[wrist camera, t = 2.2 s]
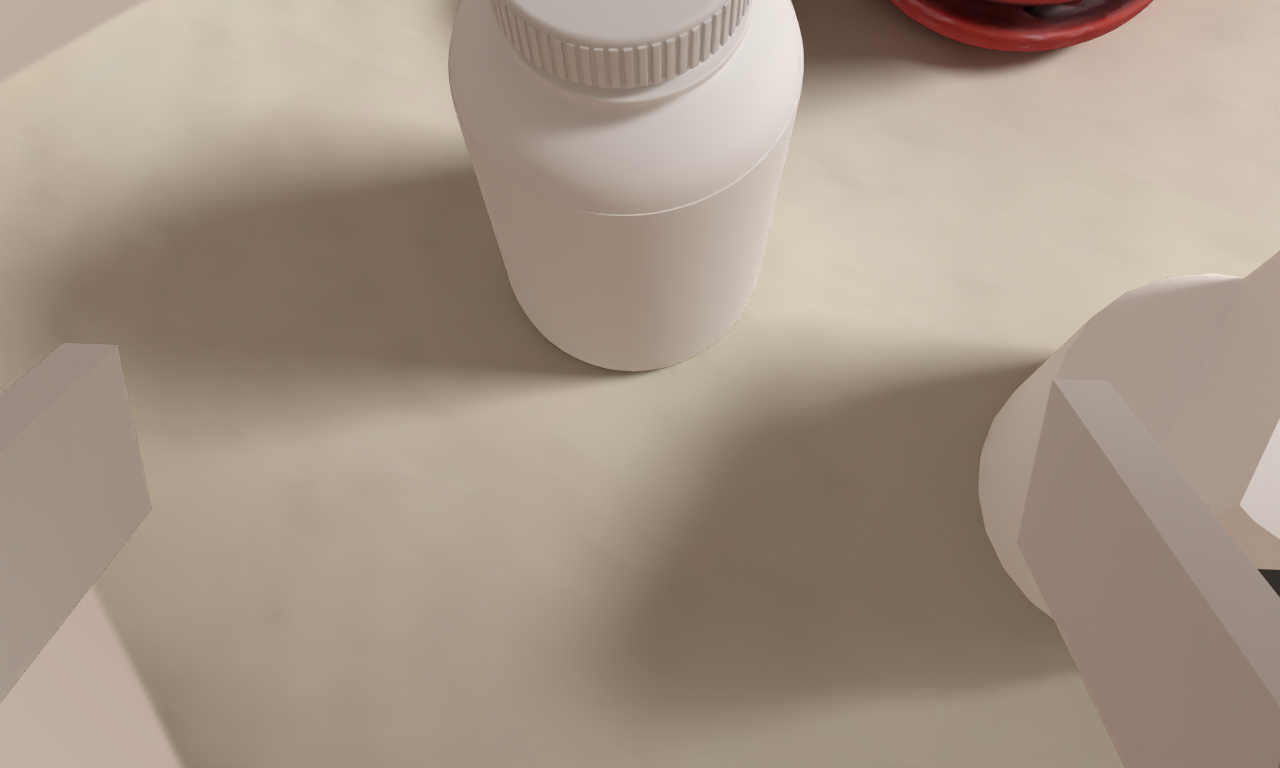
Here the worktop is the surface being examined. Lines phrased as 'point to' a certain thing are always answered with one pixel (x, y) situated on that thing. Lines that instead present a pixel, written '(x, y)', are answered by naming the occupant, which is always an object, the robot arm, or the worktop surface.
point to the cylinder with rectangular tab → (1165, 404)
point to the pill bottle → (629, 161)
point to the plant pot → (1022, 20)
